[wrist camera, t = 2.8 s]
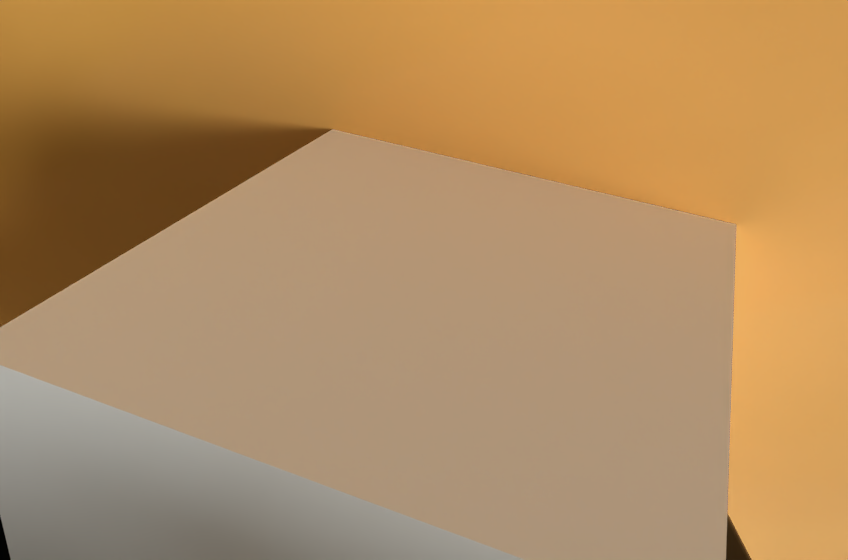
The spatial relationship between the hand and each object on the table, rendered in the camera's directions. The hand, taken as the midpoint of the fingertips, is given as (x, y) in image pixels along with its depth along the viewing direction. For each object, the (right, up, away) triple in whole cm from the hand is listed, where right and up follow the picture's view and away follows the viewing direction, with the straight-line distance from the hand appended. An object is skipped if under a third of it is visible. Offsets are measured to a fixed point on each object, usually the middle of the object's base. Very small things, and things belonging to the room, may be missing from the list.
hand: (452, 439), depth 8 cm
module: (0, 0, +1) cm, 1 cm away
